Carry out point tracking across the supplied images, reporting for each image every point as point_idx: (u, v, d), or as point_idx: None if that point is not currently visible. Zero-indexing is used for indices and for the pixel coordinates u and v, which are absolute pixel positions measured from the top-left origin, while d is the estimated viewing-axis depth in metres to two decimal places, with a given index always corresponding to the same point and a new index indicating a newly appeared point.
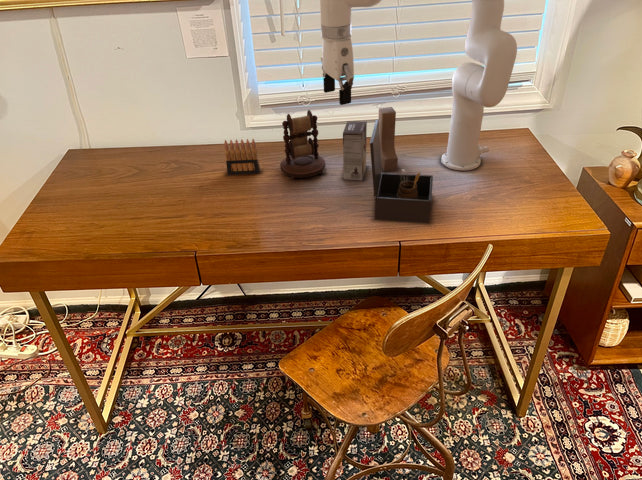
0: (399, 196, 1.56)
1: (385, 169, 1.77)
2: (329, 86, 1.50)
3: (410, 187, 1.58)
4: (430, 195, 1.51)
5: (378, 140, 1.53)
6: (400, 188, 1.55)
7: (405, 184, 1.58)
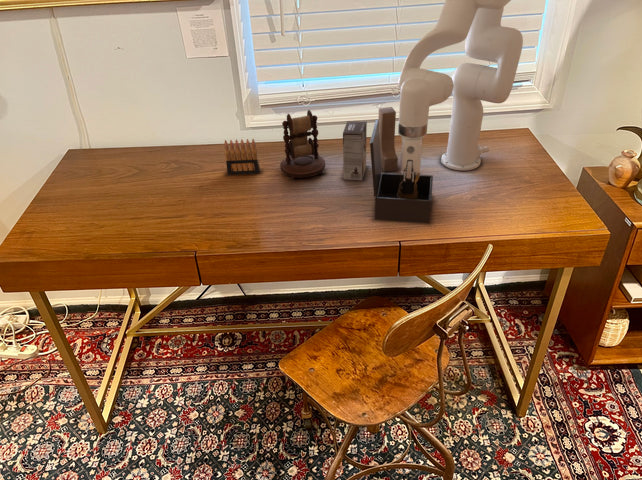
0: (399, 196, 1.56)
1: (385, 169, 1.77)
2: None
3: None
4: (430, 195, 1.51)
5: (378, 140, 1.53)
6: (400, 188, 1.55)
7: None
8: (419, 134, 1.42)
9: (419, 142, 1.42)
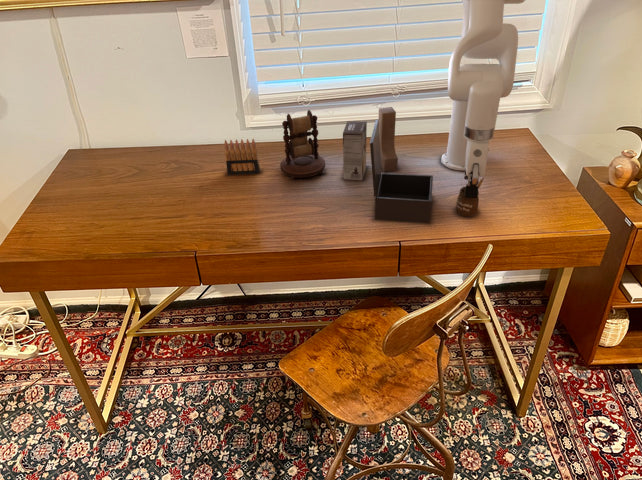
0: (460, 202, 1.53)
1: (385, 169, 1.77)
2: None
3: None
4: (430, 195, 1.51)
5: (378, 140, 1.53)
6: (461, 194, 1.52)
7: (465, 190, 1.55)
8: (487, 137, 1.39)
9: (487, 145, 1.39)
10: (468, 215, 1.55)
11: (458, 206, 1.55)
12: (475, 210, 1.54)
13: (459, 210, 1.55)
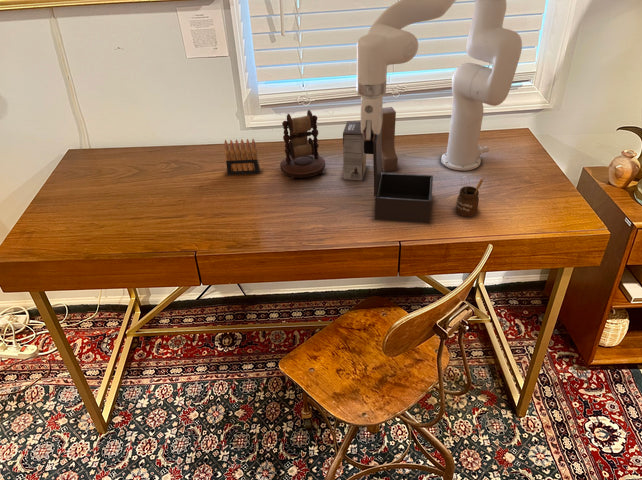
0: (460, 202, 1.53)
1: (385, 169, 1.77)
2: None
3: (470, 193, 1.56)
4: (430, 195, 1.51)
5: (380, 140, 1.53)
6: (461, 194, 1.52)
7: (465, 190, 1.55)
8: (377, 92, 1.37)
9: (377, 101, 1.37)
10: (468, 215, 1.55)
11: (458, 206, 1.55)
12: (475, 210, 1.54)
13: (459, 210, 1.55)
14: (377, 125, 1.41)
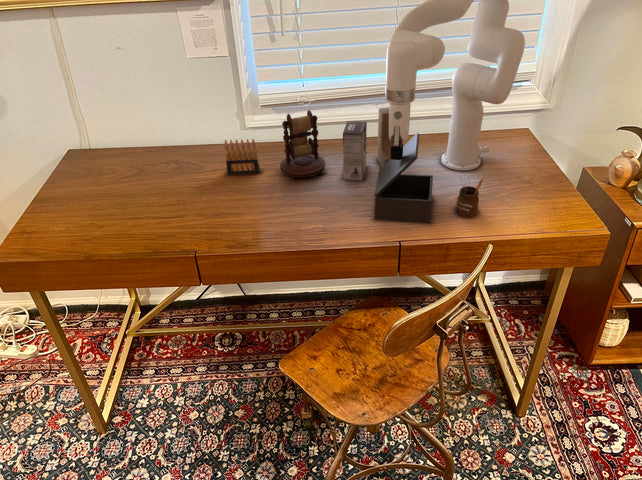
0: (460, 202, 1.53)
1: None
2: None
3: (470, 193, 1.56)
4: (430, 195, 1.51)
5: None
6: (461, 194, 1.52)
7: (465, 190, 1.55)
8: (406, 99, 1.37)
9: (406, 107, 1.37)
10: (468, 215, 1.55)
11: (458, 206, 1.55)
12: (475, 210, 1.54)
13: (459, 210, 1.55)
14: (406, 131, 1.40)
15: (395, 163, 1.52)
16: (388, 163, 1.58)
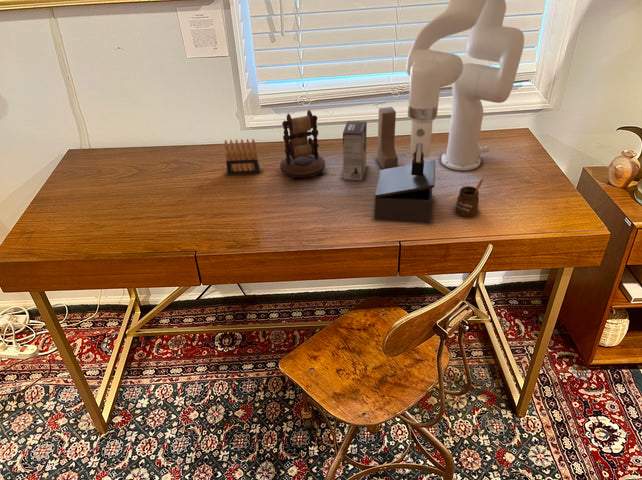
0: (460, 202, 1.53)
1: None
2: None
3: (470, 193, 1.56)
4: (430, 195, 1.51)
5: None
6: (461, 194, 1.52)
7: (465, 190, 1.55)
8: (429, 117, 1.38)
9: (429, 125, 1.39)
10: (468, 215, 1.55)
11: (458, 206, 1.55)
12: (475, 210, 1.54)
13: (459, 210, 1.55)
14: (428, 148, 1.42)
15: (405, 176, 1.54)
16: (393, 170, 1.59)
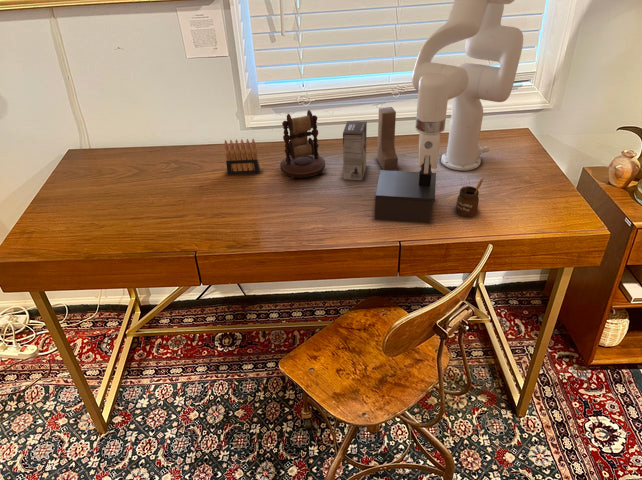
0: (460, 202, 1.53)
1: (385, 169, 1.77)
2: None
3: (470, 193, 1.56)
4: None
5: None
6: (461, 194, 1.52)
7: (465, 190, 1.55)
8: (437, 129, 1.40)
9: (437, 137, 1.40)
10: (468, 215, 1.55)
11: (458, 206, 1.55)
12: (475, 210, 1.54)
13: (459, 210, 1.55)
14: (436, 160, 1.44)
15: (406, 183, 1.55)
16: (394, 173, 1.60)
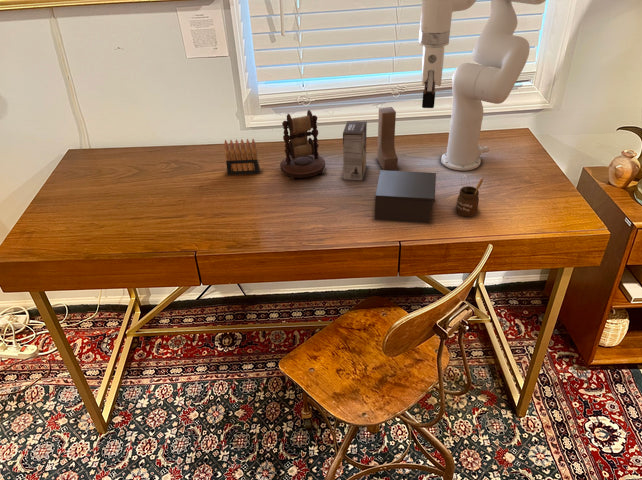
0: (460, 202, 1.53)
1: (385, 169, 1.77)
2: None
3: (470, 193, 1.56)
4: None
5: None
6: (461, 194, 1.52)
7: (465, 190, 1.55)
8: (441, 41, 1.35)
9: (441, 50, 1.36)
10: (468, 215, 1.55)
11: (458, 206, 1.55)
12: (475, 210, 1.54)
13: (459, 210, 1.55)
14: (440, 75, 1.39)
15: (406, 183, 1.55)
16: (394, 173, 1.60)
